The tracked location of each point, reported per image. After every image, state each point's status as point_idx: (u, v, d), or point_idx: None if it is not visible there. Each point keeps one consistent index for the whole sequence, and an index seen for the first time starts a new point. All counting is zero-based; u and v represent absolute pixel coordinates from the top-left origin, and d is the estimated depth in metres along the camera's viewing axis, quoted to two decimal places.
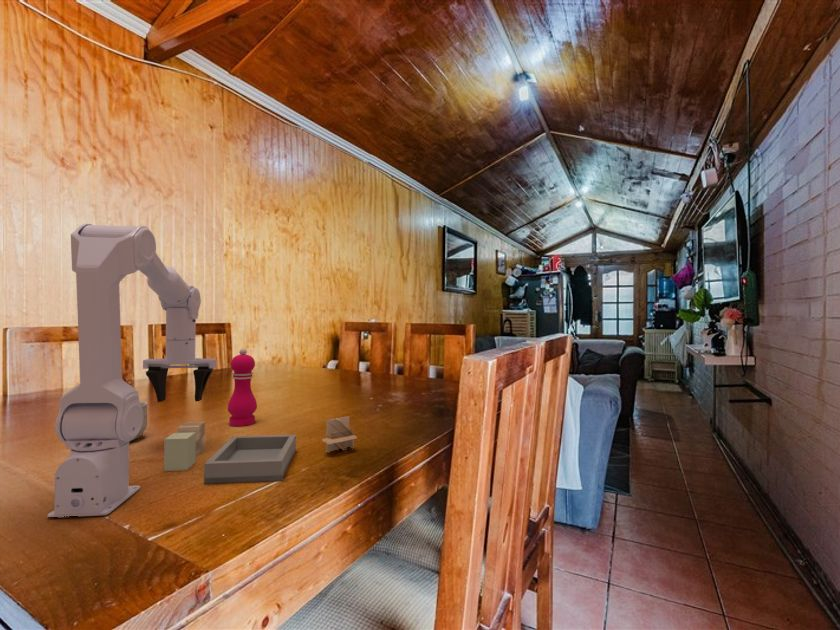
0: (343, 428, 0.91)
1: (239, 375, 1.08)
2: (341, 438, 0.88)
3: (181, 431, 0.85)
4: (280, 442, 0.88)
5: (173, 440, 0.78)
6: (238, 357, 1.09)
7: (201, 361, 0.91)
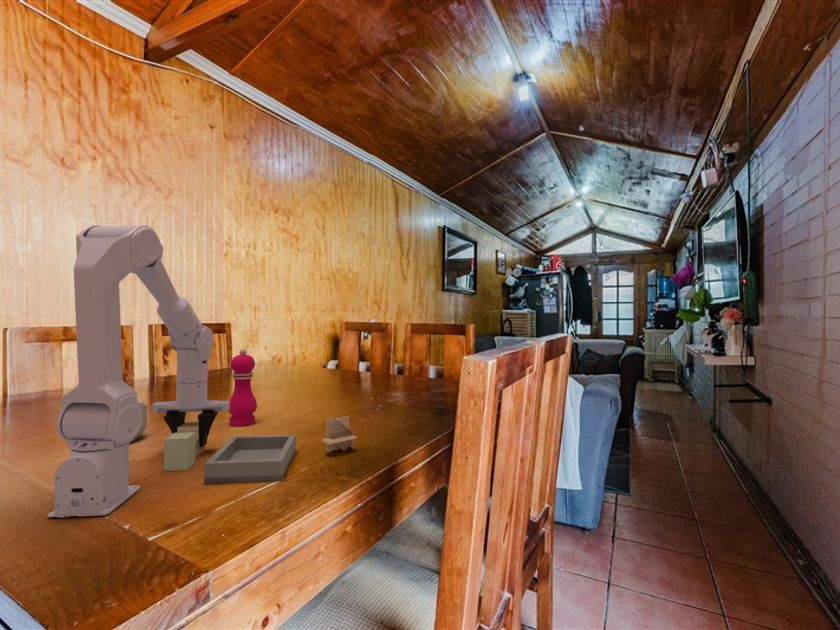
0: (343, 428, 0.91)
1: (239, 375, 1.08)
2: (341, 438, 0.88)
3: (181, 431, 0.85)
4: (280, 442, 0.88)
5: (173, 440, 0.78)
6: (238, 357, 1.09)
7: (213, 405, 0.87)
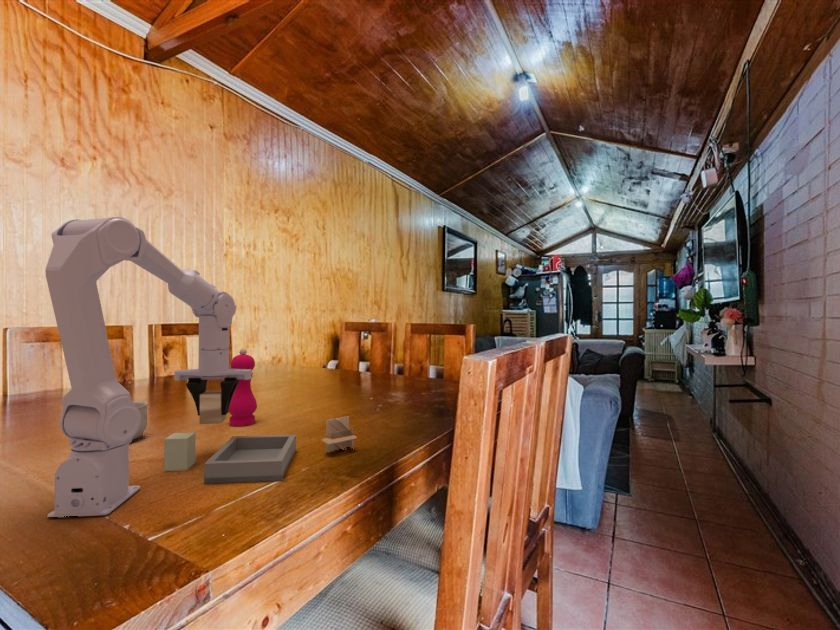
0: (343, 428, 0.91)
1: None
2: (341, 438, 0.88)
3: (203, 398, 0.84)
4: (280, 442, 0.88)
5: (173, 440, 0.78)
6: (238, 357, 1.09)
7: (236, 372, 0.86)
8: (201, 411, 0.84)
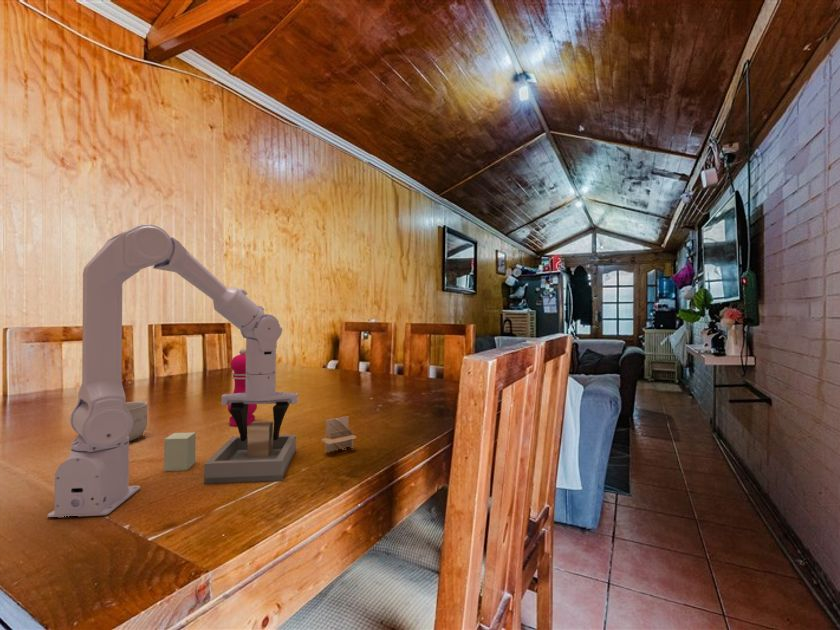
0: (342, 428, 0.91)
1: (239, 375, 1.08)
2: (340, 438, 0.88)
3: (251, 430, 0.83)
4: (280, 442, 0.88)
5: (173, 440, 0.78)
6: (238, 357, 1.09)
7: (284, 396, 0.84)
8: (248, 444, 0.83)
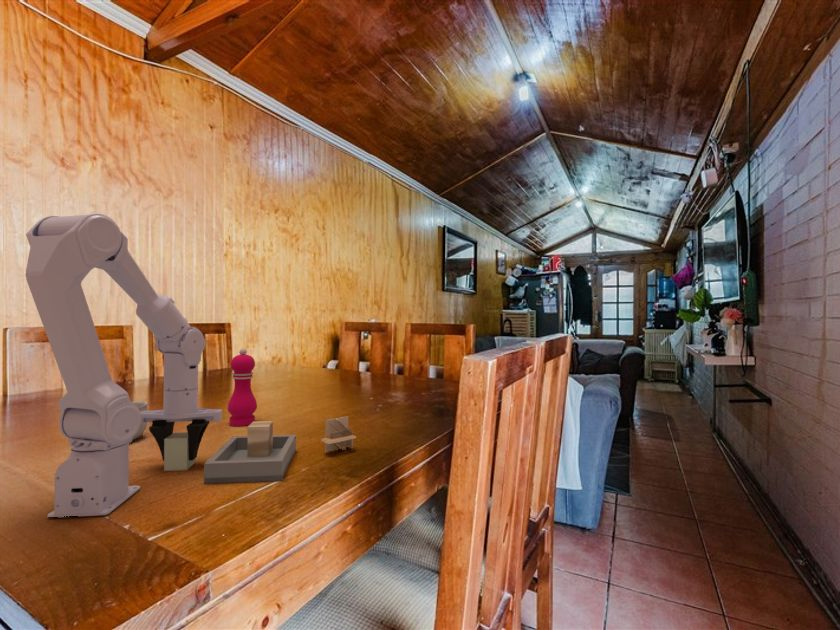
0: (342, 428, 0.91)
1: (239, 375, 1.08)
2: (340, 438, 0.88)
3: (251, 431, 0.83)
4: (280, 442, 0.88)
5: (173, 440, 0.78)
6: (238, 357, 1.09)
7: (204, 414, 0.79)
8: (248, 444, 0.83)
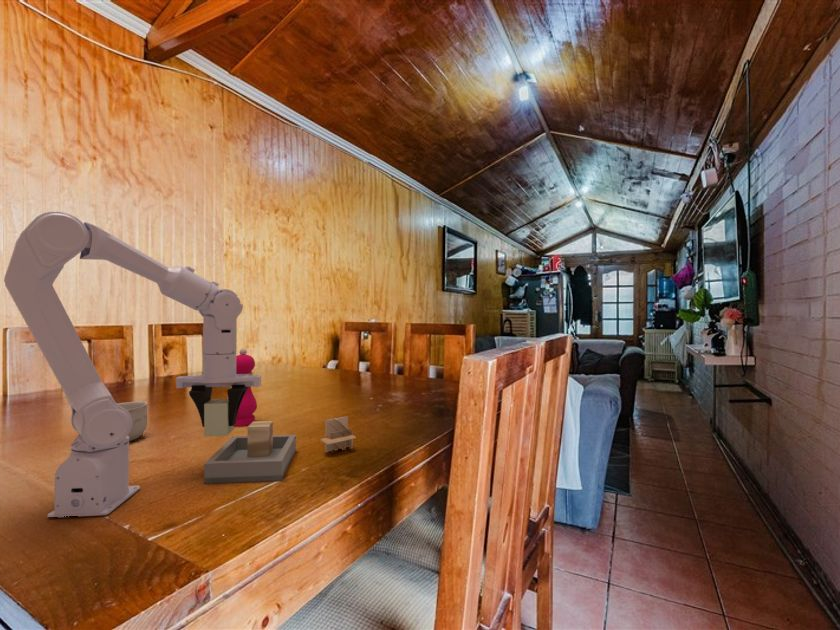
0: (342, 428, 0.91)
1: None
2: (340, 438, 0.88)
3: (251, 431, 0.83)
4: (280, 442, 0.88)
5: (213, 405, 0.76)
6: (238, 357, 1.09)
7: (244, 379, 0.77)
8: (248, 444, 0.83)
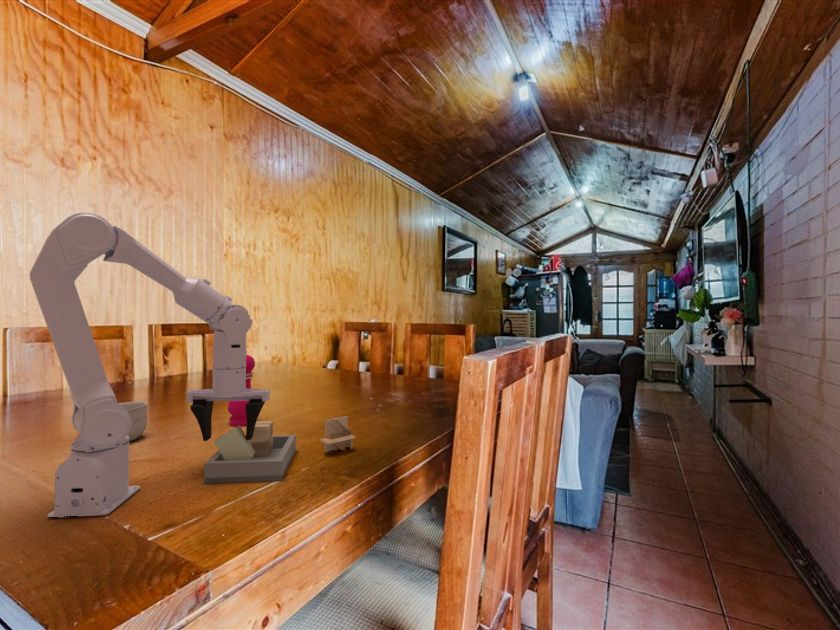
0: (341, 428, 0.91)
1: None
2: (340, 438, 0.88)
3: None
4: (280, 442, 0.88)
5: (223, 437, 0.75)
6: None
7: (253, 393, 0.78)
8: None
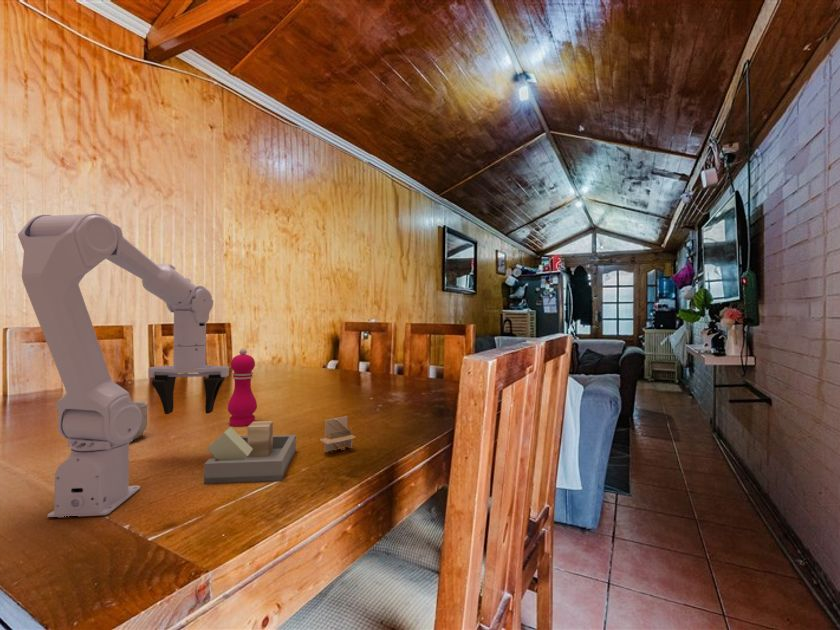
0: (341, 428, 0.91)
1: (239, 375, 1.08)
2: (340, 438, 0.88)
3: (251, 431, 0.83)
4: (280, 442, 0.88)
5: (214, 442, 0.74)
6: (238, 357, 1.09)
7: (212, 369, 0.83)
8: (248, 444, 0.83)
